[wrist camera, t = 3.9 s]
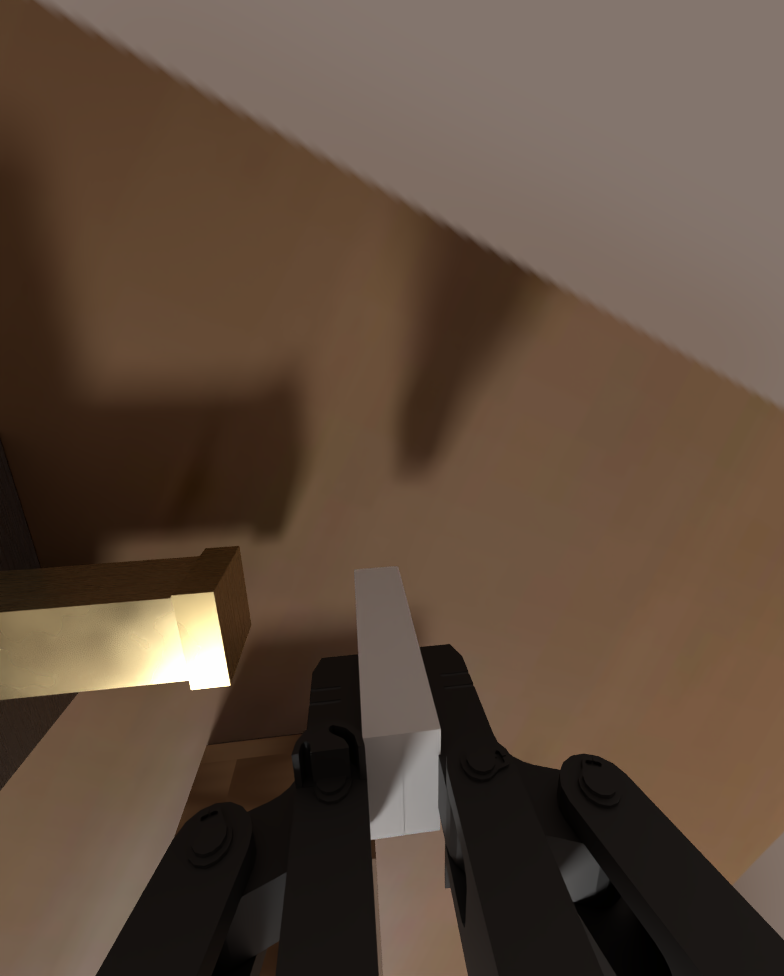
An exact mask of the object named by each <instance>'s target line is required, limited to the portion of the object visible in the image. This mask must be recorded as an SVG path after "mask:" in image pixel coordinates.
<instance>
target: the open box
mask: <svg viewBox="0 0 784 976" xmlns="http://www.w3.org/2000/svg"><path fill="white" fill-rule="evenodd" d="M301 735H302V734H297V735H288V736H280V737H272V738H263V739H255V740H247V741H238V742H230V743H222V744H213V745H207V746H206V749H205V752H204V755H203V757H202V760H201V763H200V766H199V769H198V772H197V774H196V777H195V780H194V783H193V786H192V789H191V791H190V794H189V797H188V800H187V803H186V805H185V808H184V811H183V814H182V817H181V820H180V822H179V825H178V828H177V831H176V834H177V833H178V832H179V830H180V829H181V828H182V826H183V825H184V824H185V822H186V821H188V820H189V819H190V818H191V817H193V816H194V815H195V814H196V813H197V812H199V811H200V810H202V809H204V808H206V807H208V806H211V805H213V804H215V803H222V802H233V803H235V804H238V805H241V806H243V807H244V809H245V810H246V811H247V812H248V811H250V810H252V809H254V808H256V807H258V806H261V805H263V804H265V803H267V802H269V801H271V800H273V799H274V798H276V797H278V796H280V795H281V794H282V793H283V792H284V791H286V790H287V789H288V788H289V787H290V786H291V785H292V783H293V782H294V781H295V779H294V771H293V764H292V756H291V754H292V751H293V748H294V746H295V743H296V741H297V740H298V739H299V737H300V736H301ZM176 834H175V836H176ZM371 850H372V866H373V883H374V900H375V917H376V934H377V951H378V968H379V976H383V970H382V953H381V936H380V919H379V902H378V885H377V868H376V852H375V839H374V840H371ZM278 947H279V941H278V942H277V943H275V944H273V945H272V946H270V947H268V948H267V951H266V955H265V958H264V961H263V965H262V968H261V971H260V974H259V976H275V974H276V965H277V956H278Z"/></svg>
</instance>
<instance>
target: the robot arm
mask: <svg viewBox="0 0 784 976" xmlns="http://www.w3.org/2000/svg"><path fill="white" fill-rule="evenodd" d="M354 576H355V597H356V617H357V638H358V655H348V656H338V657H328V658H322V659H321V660H320V662H319V663H318V665H317V667H316V668H315V670H314V671H313V674H312V684H311V694H310V706H309V714H308V724H307V730H306V731H304V733H303V734H302V735H301V736H300V737H299V739H298V740H297V741H296V743H295V746H294V748H293V751H292V754H291V756H292V764H293V771H294V779H295V781H294V782H293V783H292V785H291V786H290V787H289V788H288V789H287V790H286V791H284V792H283V793H282V794H281V795H280V796H278V797H276V798H274V799H273V800H271V801H269V802H267V803H265V804H263V805H261V806H258V807H256V808H254V809H252V810H250V811H248V812H247V811H246V810H245V809H244V807H243V806H241V805H238V804H235V803H233V802H222V803H215V804H213V805H211V806H208V807H206V808H204V809H202V810H200V811H199V812H197V813H196V814H195V815H194V816H193V817H191V818H190V819H189V820H188V821H186V822H185V824H184V825H183V826H182V828H181V829H180V830H179V832H178V833H177V834H176V836H175V837H174V839H173V840H172V842H171V844H170V846H169V847H168V849H167V851H166V853H165V854H164V856H163V858H162V860H161V862H160V863H159V865H158V867H157V869H156V870H155V872H154V874H153V876H152V877H151V879H150V881H149V883H148V884H147V886H146V888H145V890H144V891H143V893H142V895H141V897H140V899H139V900H138V902H137V904H136V906H135V907H134V909H133V911H132V913H131V914H130V916H129V918H128V920H127V921H126V923H125V925H124V927H123V928H122V930H121V932H120V934H119V935H118V937H117V939H116V941H115V943H114V944H113V946H112V948H111V950H110V951H109V953H108V955H107V957H106V958H105V960H104V962H103V964H102V965H101V967H100V969H99V971H98V972H97V974H96V976H259V974H260V971H261V968H262V965H263V961H264V958H265V955H266V951H267V948H268V947H270V946H272V945H273V944H275V943H277V942H278V941H279V947H278V956H277V965H276V974H275V976H379V968H378V951H377V934H376V917H375V900H374V883H373V866H372V850H371V840H374V839H381V838H388V837H395V836H402V835H409V834H416V833H423V832H430V831H437V830H440V818H441V823H442V828H443V833H444V837H445V888H451V892H452V897H453V902H454V907H455V912H456V917H457V922H458V927H459V932H460V937H461V942H462V947H463V952H464V957H465V962H466V967H467V972H468V976H784V940H783V939H782V938H781V937H780V936H779V935H778V933H777V932H776V931H775V930H774V929H773V928H772V927H771V926H770V925H769V924H768V923H767V922H766V921H765V920H764V919H763V918H762V917H761V916H760V915H759V914H758V912H756V910H755V909H754V908H753V907H752V906H751V905H750V904H749V903H748V902H747V901H746V900H745V899H744V898H743V897H742V896H741V895H740V894H739V893H738V891H737V890H736V889H735V888H734V887H733V886H732V885H731V884H730V883H729V882H728V881H727V880H726V879H725V878H724V877H723V876H722V875H721V874H720V872H719V871H718V870H717V869H716V868H715V867H714V866H713V865H712V864H711V863H710V862H709V861H708V860H707V859H706V858H705V857H704V856H703V855H702V854H701V852H700V851H699V850H698V849H697V848H696V847H695V846H694V845H693V844H692V843H691V842H690V841H689V840H688V839H687V838H686V837H685V836H684V835H683V834H682V832H681V831H680V830H679V829H678V828H677V827H676V826H675V825H674V824H673V823H672V822H671V821H670V820H669V819H668V818H667V817H666V816H665V815H664V814H663V813H662V811H661V810H660V809H659V808H658V807H657V806H656V805H655V804H654V803H653V802H652V801H651V800H650V799H649V798H648V797H647V796H646V795H645V794H644V793H643V791H642V790H641V789H640V788H639V787H638V786H637V785H636V784H635V783H634V782H633V781H632V780H631V779H630V778H629V777H628V776H627V775H626V774H625V773H624V772H623V771H622V770H620V769H619V768H618V767H617V766H616V765H614V764H613V763H611V762H609V761H607V760H605V759H603V758H601V757H599V756H594V755H589V754H579V755H573V756H571V757H569V758H568V759H567V760H566V761H564V762H563V764H562V767H561V770H558V769H552V768H547V767H542V766H537V765H532V764H529V763H526V762H523V761H521V760H519V759H517V758H515V757H513V756H512V755H510V754H509V753H508V751H507V750H506V748H504V747H503V746H502V745H501V744H499V743H498V742H497V740H496V738H495V736H494V734H493V732H492V730H491V727H490V725H489V722H488V720H487V717H486V715H485V712H484V710H483V707H482V705H481V702H480V700H479V697H478V695H477V692H476V690H475V687H474V686H473V682H472V680H471V677H470V675H469V674H468V670H467V667H466V665H465V662H464V660H463V657H462V656H461V655H460V654H459V653H458V652H457V651H456V650H455V649H454V648H453V647H452V646H451V645H450V644H446V645H436V646H426V647H419V644H418V640H417V636H416V633H415V629H414V625H413V621H412V617H411V614H410V610H409V606H408V602H407V598H406V595H405V591H404V587H403V583H402V579H401V575H400V572H399V568H398V566H394V567H381V568H368V569H356V570H354Z"/></svg>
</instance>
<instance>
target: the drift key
mask: <svg viewBox="0 0 784 976" xmlns="http://www.w3.org/2000/svg"><path fill="white" fill-rule="evenodd" d="M250 627H251V620H250V613H249V607H248V600H247V593H246V587H245V580H244V574H243V567H242V560H241V554H240V547H239V546H232V547H219V548H205V550H204V551H203V553H202V554H201V555H200V556H196V557H183V558H170V559H156V560H143V561H130V562H116V563H103V564H90V565H76V566H63V567H50V568H36V569H23V570H10V571H0V700H6V699H15V698H25V697H35V696H44V695H54V694H63V693H73V692H83V691H92V690H102V689H111V688H121V687H131V686H140V685H150V684H159V683H169V682H179V681H188V680H189V682H190V687H191V690H195V689H204V688H214V687H223V686H230V685H231V682H232V679H233V676H234V674H235V671H236V668H237V665H238V662H239V659H240V656H241V653H242V650H243V647H244V645H245V642H246V639H247V636H248V633H249V630H250Z"/></svg>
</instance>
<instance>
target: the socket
mask: <svg viewBox="0 0 784 976" xmlns="http://www.w3.org/2000/svg"><path fill="white" fill-rule="evenodd" d="M36 568H40V565H39V562H38V558H37V555H36V552H35V549H34V546H33V542H32V539H31V536H30V533H29V530H28V526H27V523H26V520H25V517H24V514H23V510H22V507H21V504H20V501H19V498H18V494H17V491H16V488H15V485H14V482H13V479H12V475H11V472H10V469H9V466H8V463H7V459H6V456H5V453H4V450H3V447H2V443H1V440H0V571H10V570H23V569H36ZM78 693H79V692H73V693H63V694H54V695H44V696H35V697H25V698H15V699H6V700H0V790H1V789H2V788H3V787H4V785H5V784H6V783H7V782H8V780H9V779H10V778H11V777H12V775H13V774H14V773H15V772H16V770H17V769H18V768H19V767H20V765H21V764H22V763H23V762H24V760H25V759H26V758H27V757H28V755H29V754H30V753H31V752H32V750H33V749H34V748H35V747H36V745H37V744H38V743H39V741H40V740H41V739H42V738H43V736H44V735H45V734H46V733H47V731H48V730H49V729H50V728H51V726H52V725H53V724H54V723H55V721H56V720H57V719H58V718H59V716H60V715H61V714H62V713H63V711H64V710H65V709H66V708H67V706H68V705H69V704H70V703H71V701H72V700H73V699H74V698H75V696H76V695H77V694H78Z"/></svg>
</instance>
